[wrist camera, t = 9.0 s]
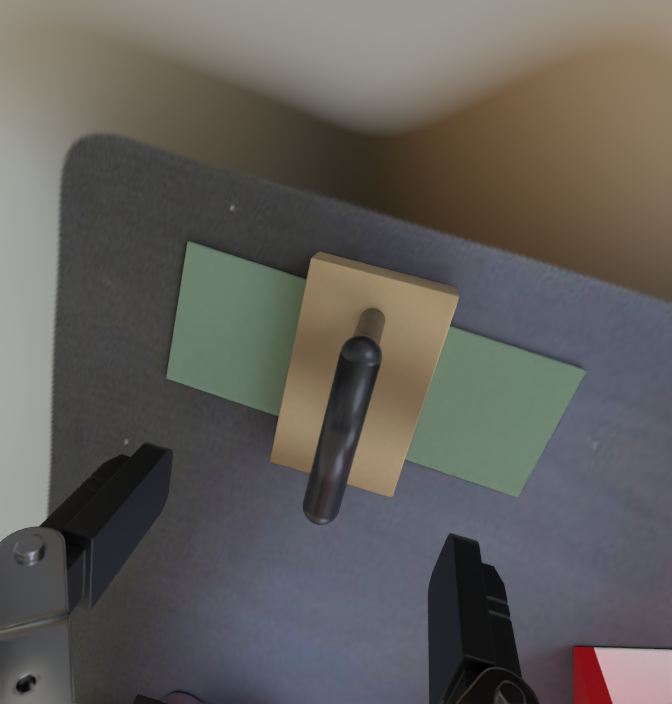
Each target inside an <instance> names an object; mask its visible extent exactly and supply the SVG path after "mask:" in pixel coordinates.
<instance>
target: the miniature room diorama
mask: <svg viewBox="0 0 672 704" xmlns="http://www.w3.org/2000/svg"><path fill="white" fill-rule="evenodd" d="M574 704H672V650H666V649H633V648H600V647H574Z"/></svg>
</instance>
